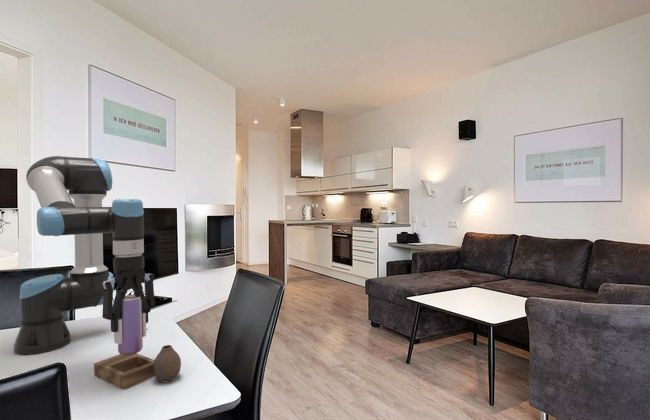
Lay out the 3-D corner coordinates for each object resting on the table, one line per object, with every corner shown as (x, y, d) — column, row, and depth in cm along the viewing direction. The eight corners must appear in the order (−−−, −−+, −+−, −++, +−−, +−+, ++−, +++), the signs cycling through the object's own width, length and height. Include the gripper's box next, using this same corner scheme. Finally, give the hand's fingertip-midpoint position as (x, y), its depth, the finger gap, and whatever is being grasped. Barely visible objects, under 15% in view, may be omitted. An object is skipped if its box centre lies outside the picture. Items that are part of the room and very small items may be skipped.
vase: (173, 370, 103) (172, 340, 103) (186, 377, 99) (185, 345, 99) (148, 379, 98) (148, 347, 98) (161, 387, 94) (160, 353, 94)
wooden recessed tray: (94, 375, 101) (94, 363, 101) (129, 362, 109) (129, 350, 109) (123, 389, 93) (123, 376, 93) (159, 374, 101) (159, 361, 101)
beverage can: (132, 356, 96) (131, 300, 96) (112, 355, 97) (111, 299, 97) (147, 347, 102) (146, 294, 102) (129, 346, 103) (128, 294, 103)
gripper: (99, 260, 90) (101, 354, 90) (168, 252, 106) (169, 331, 106) (84, 258, 94) (86, 348, 94) (152, 250, 110) (154, 327, 110)
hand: (130, 339), depth 100 cm, fingers closed on beverage can, 6 cm apart
